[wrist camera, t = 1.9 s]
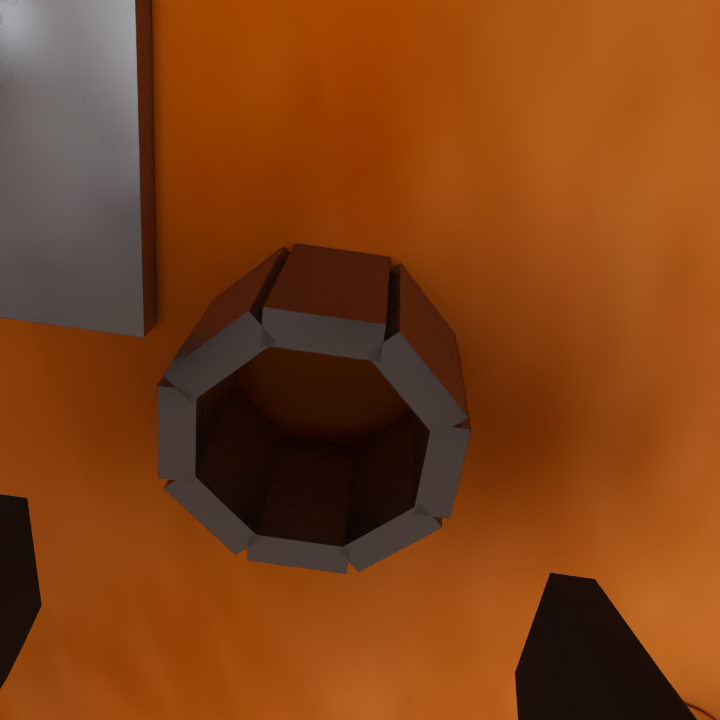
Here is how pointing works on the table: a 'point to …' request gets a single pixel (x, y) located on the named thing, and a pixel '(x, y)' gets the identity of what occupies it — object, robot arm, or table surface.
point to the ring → (306, 457)
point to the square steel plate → (77, 164)
